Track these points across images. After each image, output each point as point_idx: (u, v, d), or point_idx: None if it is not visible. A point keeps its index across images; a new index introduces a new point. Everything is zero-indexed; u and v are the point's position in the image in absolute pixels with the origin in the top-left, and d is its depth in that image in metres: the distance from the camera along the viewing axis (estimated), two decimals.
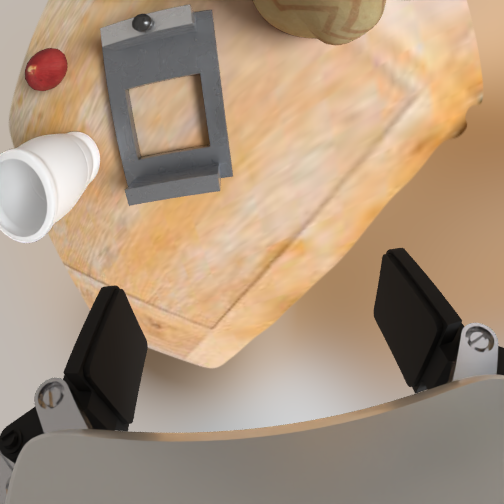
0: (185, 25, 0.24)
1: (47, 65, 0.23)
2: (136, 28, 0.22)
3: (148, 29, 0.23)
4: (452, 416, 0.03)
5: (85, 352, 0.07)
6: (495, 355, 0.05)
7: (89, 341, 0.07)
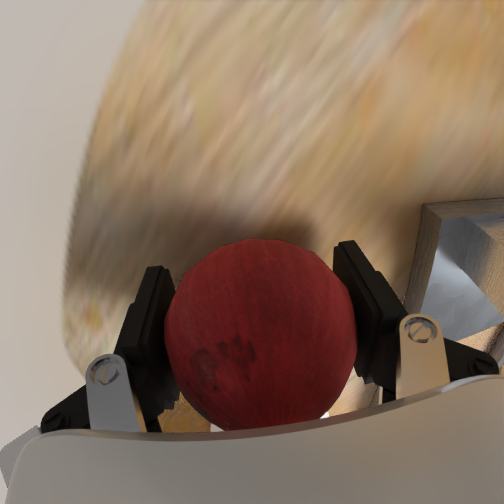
0: None
1: (338, 395, 0.07)
2: None
3: None
4: (452, 416, 0.03)
5: (142, 326, 0.08)
6: (441, 342, 0.06)
7: (144, 316, 0.08)
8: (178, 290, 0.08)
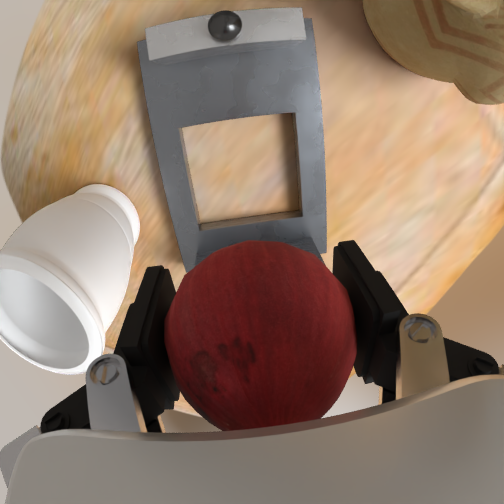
0: (293, 40, 0.16)
1: (337, 396, 0.07)
2: (216, 34, 0.14)
3: (234, 38, 0.15)
4: (452, 416, 0.03)
5: (142, 326, 0.08)
6: (441, 342, 0.06)
7: (144, 316, 0.08)
8: (178, 292, 0.08)
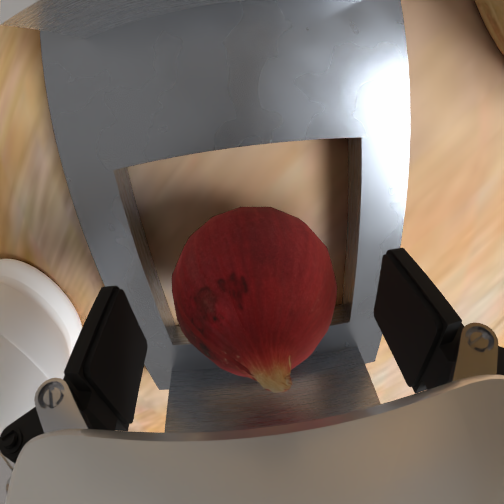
0: None
1: (320, 334, 0.09)
2: None
3: None
4: (452, 416, 0.03)
5: (85, 352, 0.07)
6: (495, 355, 0.05)
7: (89, 341, 0.07)
8: (185, 247, 0.10)
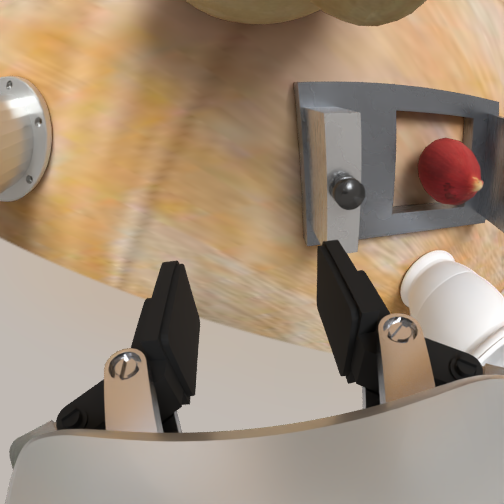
0: None
1: (470, 160, 0.18)
2: (359, 202, 0.18)
3: (358, 182, 0.18)
4: (452, 416, 0.03)
5: (161, 320, 0.08)
6: (422, 341, 0.06)
7: (163, 310, 0.08)
8: (429, 194, 0.22)
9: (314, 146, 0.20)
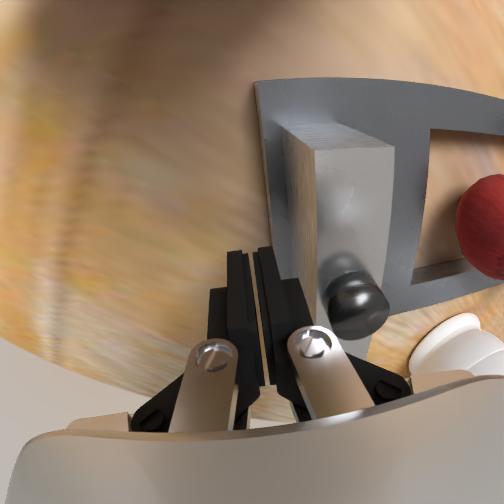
0: None
1: None
2: (376, 326, 0.09)
3: (378, 285, 0.09)
4: (452, 416, 0.03)
5: (246, 308, 0.08)
6: (339, 350, 0.07)
7: (244, 297, 0.08)
8: (470, 262, 0.14)
9: (297, 204, 0.11)
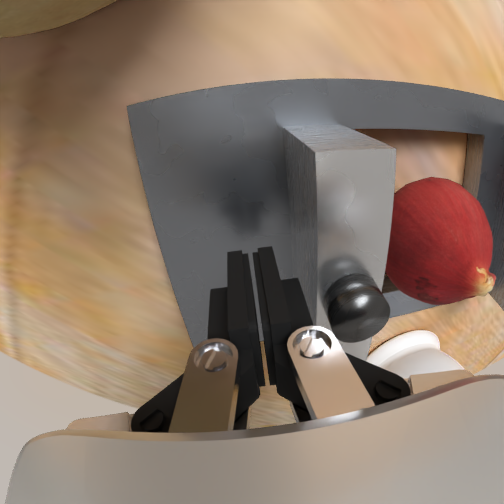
0: None
1: (475, 230, 0.09)
2: (376, 329, 0.09)
3: (379, 288, 0.09)
4: (452, 416, 0.03)
5: (246, 308, 0.08)
6: (339, 350, 0.07)
7: (244, 297, 0.08)
8: (391, 281, 0.13)
9: (298, 206, 0.11)
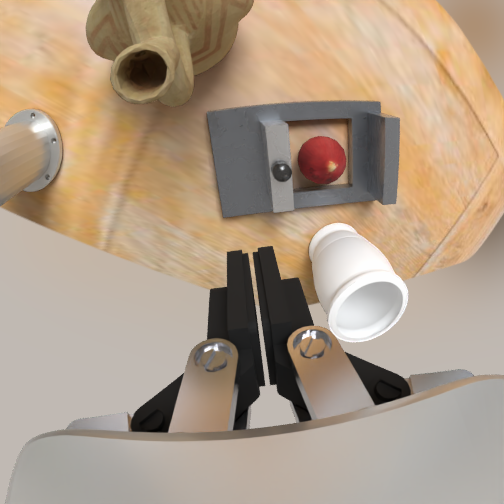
0: None
1: (329, 150, 0.32)
2: (288, 177, 0.31)
3: (288, 165, 0.32)
4: (452, 416, 0.03)
5: (246, 308, 0.08)
6: (340, 350, 0.07)
7: (244, 297, 0.08)
8: (306, 177, 0.36)
9: (264, 145, 0.33)
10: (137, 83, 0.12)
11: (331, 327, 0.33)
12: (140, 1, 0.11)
